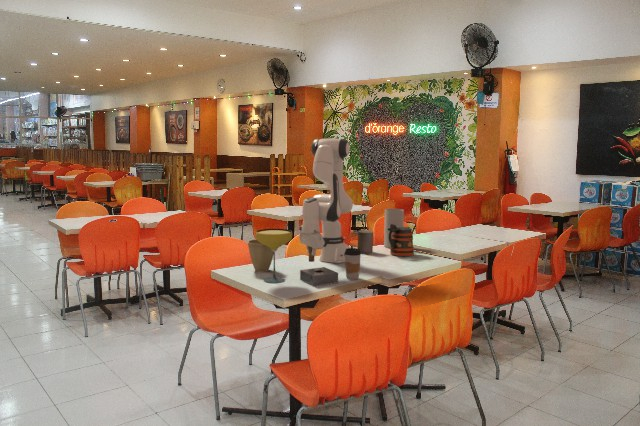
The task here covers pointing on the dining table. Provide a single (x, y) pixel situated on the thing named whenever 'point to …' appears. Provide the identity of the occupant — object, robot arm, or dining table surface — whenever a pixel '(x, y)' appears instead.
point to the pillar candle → (365, 241)
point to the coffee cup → (352, 263)
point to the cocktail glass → (274, 245)
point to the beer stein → (401, 241)
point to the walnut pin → (311, 257)
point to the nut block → (318, 276)
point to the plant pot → (260, 255)
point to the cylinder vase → (392, 222)
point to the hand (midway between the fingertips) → (311, 254)
